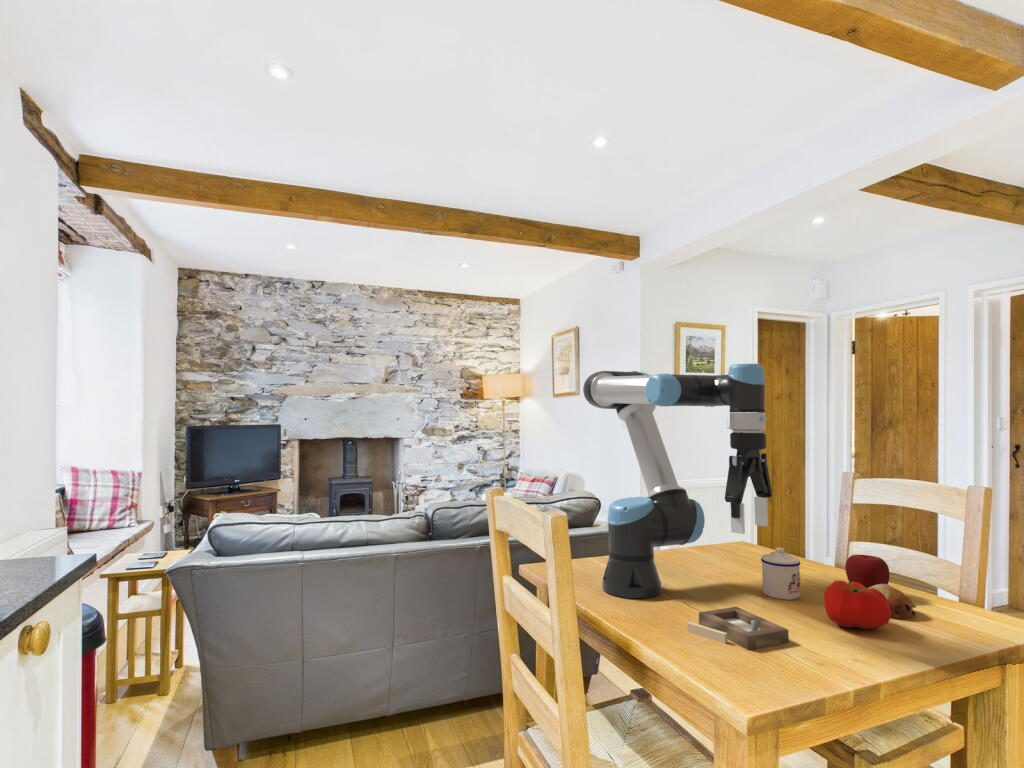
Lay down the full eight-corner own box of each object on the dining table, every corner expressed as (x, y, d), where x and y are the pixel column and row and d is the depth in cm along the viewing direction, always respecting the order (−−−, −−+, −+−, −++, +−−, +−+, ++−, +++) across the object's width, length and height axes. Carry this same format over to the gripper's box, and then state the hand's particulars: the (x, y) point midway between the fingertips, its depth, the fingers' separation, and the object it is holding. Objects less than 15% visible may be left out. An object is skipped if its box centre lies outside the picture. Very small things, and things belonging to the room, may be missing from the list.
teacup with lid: (796, 603, 135) (795, 554, 136) (757, 595, 141) (755, 548, 142) (808, 591, 144) (806, 545, 145) (770, 584, 150) (769, 540, 151)
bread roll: (886, 619, 134) (870, 585, 137) (928, 613, 126) (910, 576, 130) (862, 627, 129) (846, 591, 133) (904, 621, 121) (886, 583, 125)
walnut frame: (699, 623, 118) (698, 612, 118) (736, 617, 122) (736, 606, 122) (747, 649, 105) (747, 636, 105) (788, 642, 108) (788, 629, 109)
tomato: (887, 643, 111) (885, 598, 112) (817, 628, 119) (815, 586, 120) (896, 624, 122) (894, 583, 122) (831, 611, 130) (829, 572, 130)
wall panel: (661, 634, 116) (661, 609, 117) (701, 615, 127) (700, 593, 127) (768, 669, 100) (767, 641, 100) (803, 644, 111) (802, 619, 111)
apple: (866, 587, 148) (865, 548, 148) (900, 598, 138) (898, 557, 139) (837, 590, 145) (836, 551, 146) (869, 602, 136) (868, 560, 136)
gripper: (739, 433, 116) (742, 540, 115) (785, 430, 132) (788, 524, 131) (706, 432, 122) (708, 534, 120) (754, 430, 137) (756, 519, 136)
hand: (750, 529), depth 126 cm, fingers open, 11 cm apart
